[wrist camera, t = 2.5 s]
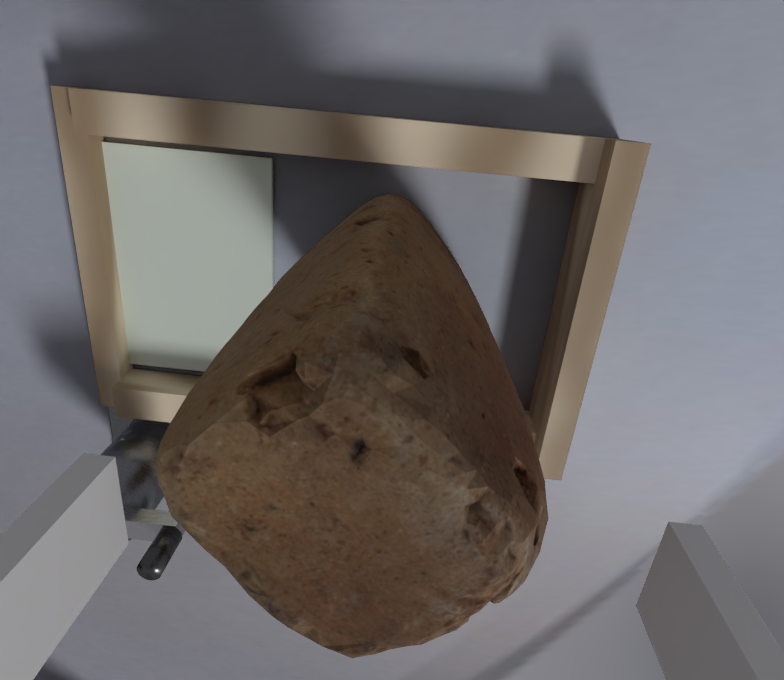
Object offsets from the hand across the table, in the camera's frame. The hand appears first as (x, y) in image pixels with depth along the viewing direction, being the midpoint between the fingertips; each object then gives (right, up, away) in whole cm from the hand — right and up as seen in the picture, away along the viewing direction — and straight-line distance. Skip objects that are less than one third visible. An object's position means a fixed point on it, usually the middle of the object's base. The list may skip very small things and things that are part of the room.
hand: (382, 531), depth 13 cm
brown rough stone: (+1, +8, +18) cm, 19 cm away
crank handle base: (-15, -2, +23) cm, 27 cm away
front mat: (-11, +9, +18) cm, 23 cm away
